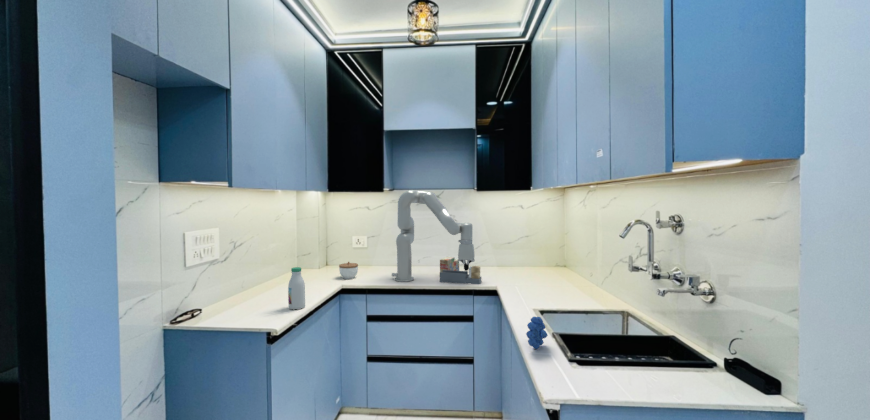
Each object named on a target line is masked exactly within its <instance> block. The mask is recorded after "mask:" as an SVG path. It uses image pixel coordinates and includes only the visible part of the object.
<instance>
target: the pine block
mask: <svg viewBox="0 0 870 420" xmlns="http://www.w3.org/2000/svg"><path fill="white" fill-rule="evenodd" d="M470 267H471V278H474V279H479V278H480V276H481V266H480V265H477V266H476V265H471V266H470Z"/></svg>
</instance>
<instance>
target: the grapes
mask: <svg viewBox="0 0 870 420" xmlns="http://www.w3.org/2000/svg"><path fill="white" fill-rule="evenodd" d="M526 325H527V328H528V329H529V330H527V332H526V333H525V335H526V337H527V339H528V340H527V343H528V344H529V346H530V347H532V348H533V349H535V350H537V349H539V348H540V346H541V347H542V345H543V344H544V343H545V342H544V339H546V338H547V337H548V333H547V331H546V330H545V329H546V325H545V323H544V321H543V319H542V317H541V316H532V317H531V318H530V321H529V322H527V324H526Z"/></svg>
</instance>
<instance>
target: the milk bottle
mask: <svg viewBox="0 0 870 420" xmlns="http://www.w3.org/2000/svg"><path fill="white" fill-rule="evenodd" d="M290 273H291V277H290V279H289V282H288V288H287V294H288V299H287V300H288V309H289V308H290V309H289V310H291V309H298V310H301V308H302V309H305V307H306V285H305V284H306V283H305V279H304V278H303V276H302V267H300V266H299V267H298V266H297V267H291V272H290Z"/></svg>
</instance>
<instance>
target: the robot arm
mask: <svg viewBox="0 0 870 420" xmlns="http://www.w3.org/2000/svg"><path fill="white" fill-rule="evenodd" d="M411 204H421V205H426V207H427V208H428V209H429V210H430V211H431V212H432V214H433V215H434V216H435V217H436V219H437V220H438V221H439V223H440V224H441V225H442V226H443V228H445V230H446V231H447V232H448V233H449V234H450V235H453V236H456V235H458V234H460V239H459V240H458V241H457V242H458V243H459V245H458V251H457V253H458V254H457V256H458V257H457V258H458V261H459V262H461V263H462V264H463V270H464V271H469V268H470V264H471V263H474V262H475V261H476V260H475V246H474V244H473V224H472V223H470V222H464V223H463V222H456V220H454V219H453V217H452V216H451V215H450V213H449V211H448V210H447V208H446V206H445V205H444V204H443V203H442V202H441V201H440V200H439V199H438V197H437V195H436V193H435V192H432V191H422V190H415V189H414V190H413V189H409V190H406V191H405V192H402V194H401V195H400V196H399V197H398V200H397V227H398V229H399V230H400V233H399V234H398V235H397V237H396V240H395V242H396V243H395V244H396V245H395V246H396V250H397V251H396V261H397V263H396V265H397V266H396V267H397V269H396V271H397V272H391V276H392V277H395V278H394V281H396V282H401V283H402V282H403V283H405V282H412V281H414V280H415V277H414V276H412V275H413V274H412V270H413V269H412V263H413V262H412V245H411V244H412V243H413V242H414V240H415V221H414V219H413V217H412V216H411Z"/></svg>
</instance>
